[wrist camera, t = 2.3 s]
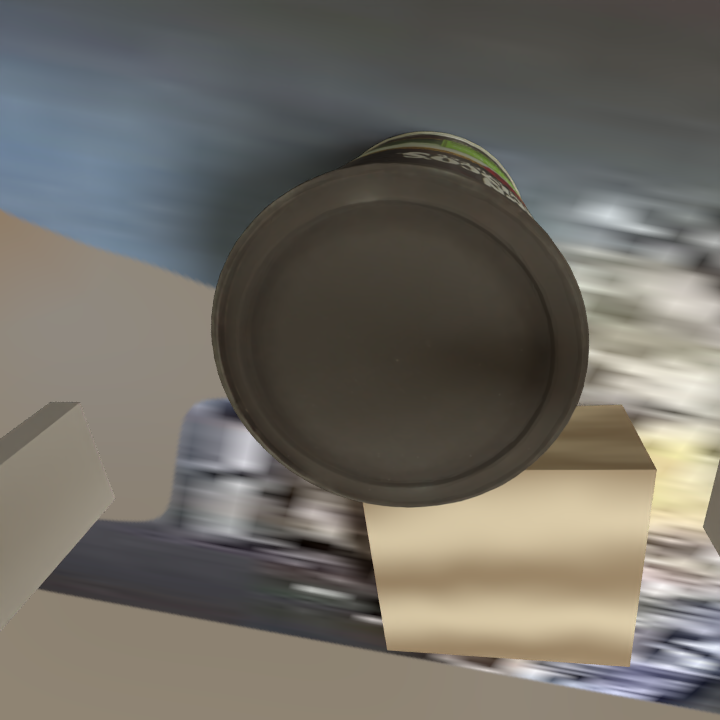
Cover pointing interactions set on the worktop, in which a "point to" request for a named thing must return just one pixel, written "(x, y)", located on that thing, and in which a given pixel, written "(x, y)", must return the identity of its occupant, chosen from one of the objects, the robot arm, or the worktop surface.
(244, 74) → the worktop surface
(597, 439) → the birch block
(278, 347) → the coffee can
